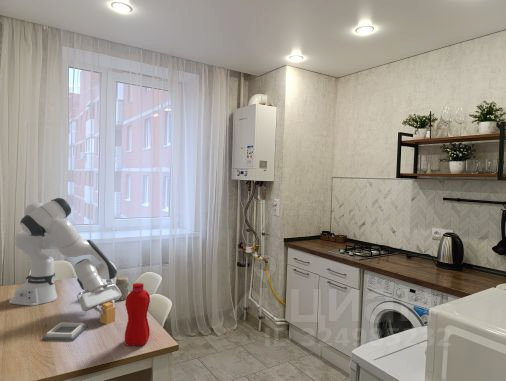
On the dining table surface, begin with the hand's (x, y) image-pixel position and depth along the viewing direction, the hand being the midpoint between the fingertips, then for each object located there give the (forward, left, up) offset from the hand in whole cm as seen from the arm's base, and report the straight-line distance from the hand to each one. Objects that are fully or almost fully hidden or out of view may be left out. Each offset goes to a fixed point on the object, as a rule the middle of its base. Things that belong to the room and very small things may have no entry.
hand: (108, 311), depth 164 cm
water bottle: (+19, -18, -5) cm, 27 cm away
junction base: (-14, -13, -5) cm, 19 cm away
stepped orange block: (-1, 0, -5) cm, 5 cm away
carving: (-5, +30, -5) cm, 31 cm away
